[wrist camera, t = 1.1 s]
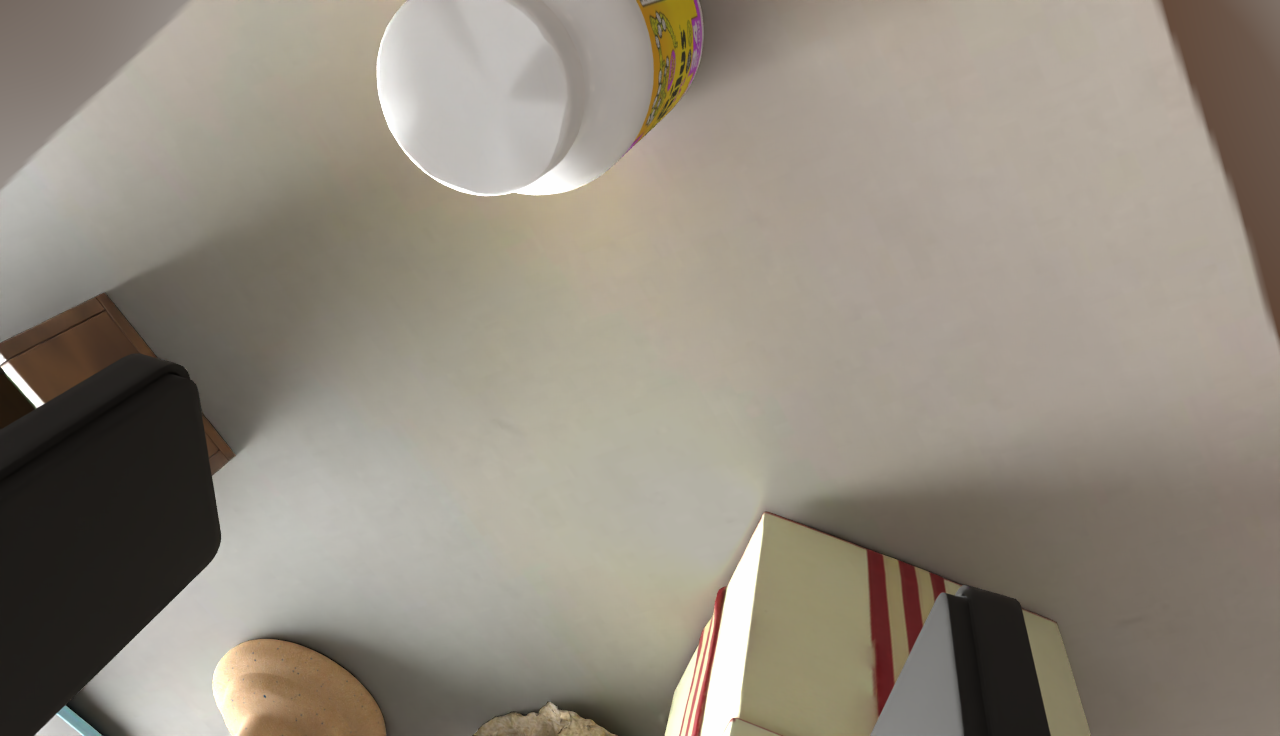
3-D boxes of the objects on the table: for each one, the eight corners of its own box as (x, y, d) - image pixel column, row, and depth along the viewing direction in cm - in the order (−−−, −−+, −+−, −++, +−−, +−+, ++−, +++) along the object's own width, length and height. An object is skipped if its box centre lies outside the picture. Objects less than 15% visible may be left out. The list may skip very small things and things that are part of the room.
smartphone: (93, 794, 67) (-56, 676, 62) (104, 782, 68) (-43, 665, 63) (137, 778, 64) (-17, 653, 59) (147, 766, 65) (-4, 641, 60)
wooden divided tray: (-85, 411, 50) (-196, 468, 44) (104, 291, 41) (-6, 345, 36) (38, 540, 53) (-52, 607, 48) (236, 455, 44) (153, 525, 39)
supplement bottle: (632, 162, 31) (506, 292, 20) (497, 44, 30) (289, 113, 19) (748, 17, 28) (672, 79, 17) (600, -121, 27) (418, -150, 16)
